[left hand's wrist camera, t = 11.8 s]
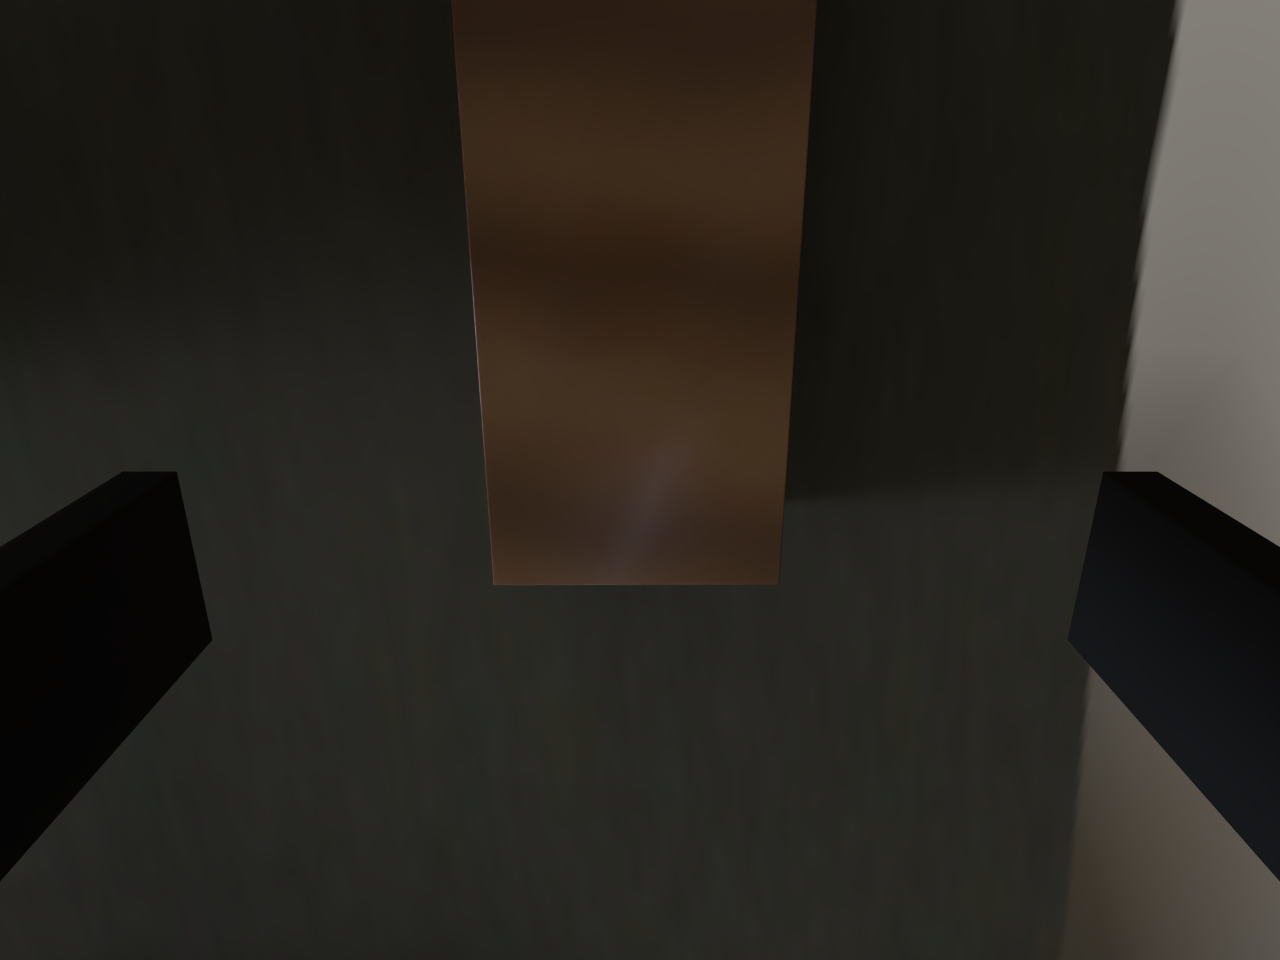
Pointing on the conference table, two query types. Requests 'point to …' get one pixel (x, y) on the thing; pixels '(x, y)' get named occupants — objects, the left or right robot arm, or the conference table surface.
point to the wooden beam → (635, 280)
